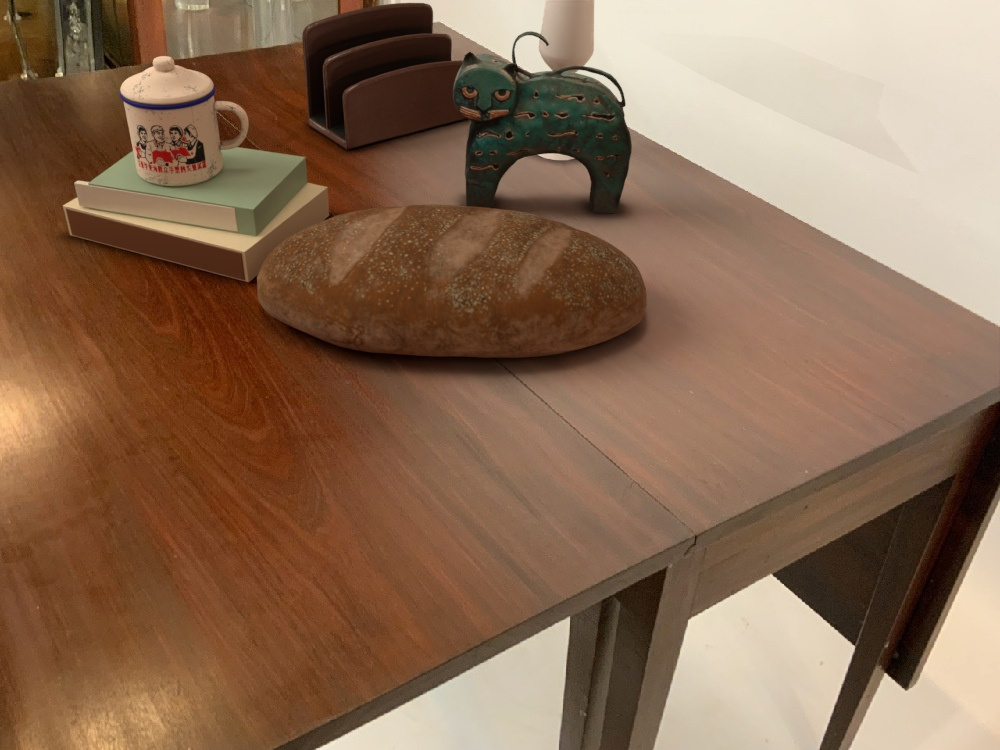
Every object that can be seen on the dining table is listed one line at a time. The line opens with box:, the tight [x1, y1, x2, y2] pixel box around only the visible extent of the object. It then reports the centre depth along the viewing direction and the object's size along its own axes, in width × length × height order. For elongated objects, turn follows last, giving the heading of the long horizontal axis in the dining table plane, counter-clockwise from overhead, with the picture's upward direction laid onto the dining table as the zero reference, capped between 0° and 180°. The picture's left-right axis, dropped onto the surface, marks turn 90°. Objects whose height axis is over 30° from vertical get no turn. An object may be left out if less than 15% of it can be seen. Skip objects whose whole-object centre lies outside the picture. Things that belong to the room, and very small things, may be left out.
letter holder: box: [301, 2, 468, 151], centre depth 126 cm, size 10×20×14 cm, turn 129°
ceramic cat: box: [453, 30, 633, 215], centre depth 107 cm, size 20×6×20 cm, turn 91°
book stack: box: [62, 146, 330, 283], centre depth 104 cm, size 22×16×6 cm
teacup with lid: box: [119, 55, 250, 186], centre depth 98 cm, size 12×9×12 cm
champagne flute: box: [537, 0, 595, 161], centre depth 119 cm, size 7×7×24 cm
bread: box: [256, 203, 648, 358], centre depth 92 cm, size 22×37×8 cm, turn 90°
